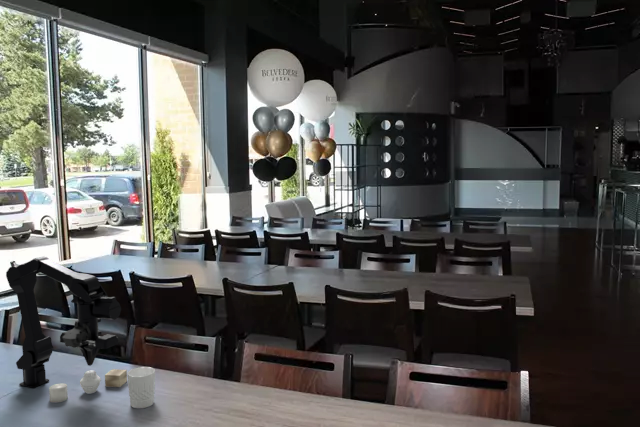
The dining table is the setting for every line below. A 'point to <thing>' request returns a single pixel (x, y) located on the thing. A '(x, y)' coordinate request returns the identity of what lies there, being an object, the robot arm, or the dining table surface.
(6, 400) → the dining table surface
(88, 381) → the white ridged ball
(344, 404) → the dining table surface
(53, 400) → the white rounded lump
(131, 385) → the white cup
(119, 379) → the maple block
